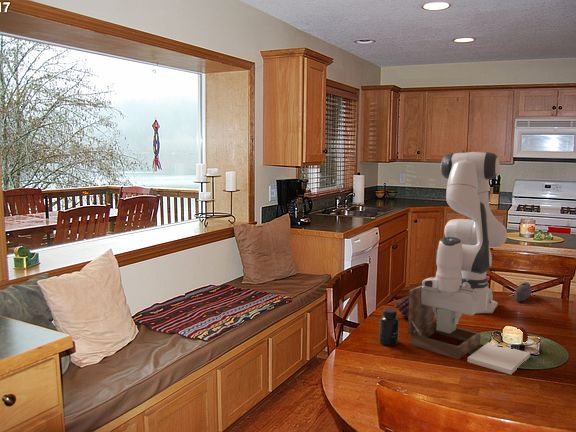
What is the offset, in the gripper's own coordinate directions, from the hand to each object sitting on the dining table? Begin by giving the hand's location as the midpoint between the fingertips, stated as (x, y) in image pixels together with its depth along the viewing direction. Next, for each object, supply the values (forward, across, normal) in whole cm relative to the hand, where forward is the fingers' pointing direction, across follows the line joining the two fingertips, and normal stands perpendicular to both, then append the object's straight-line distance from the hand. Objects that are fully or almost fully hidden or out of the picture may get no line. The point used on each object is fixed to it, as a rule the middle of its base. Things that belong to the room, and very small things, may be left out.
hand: (446, 321), depth 184 cm
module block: (+3, 0, 0) cm, 3 cm away
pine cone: (+9, +22, -17) cm, 29 cm away
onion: (+9, -20, -16) cm, 27 cm away
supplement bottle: (+9, +16, +12) cm, 22 cm away
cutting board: (+8, -19, 0) cm, 21 cm away
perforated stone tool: (+9, -2, -75) cm, 75 cm away
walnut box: (+9, 0, 0) cm, 9 cm away
